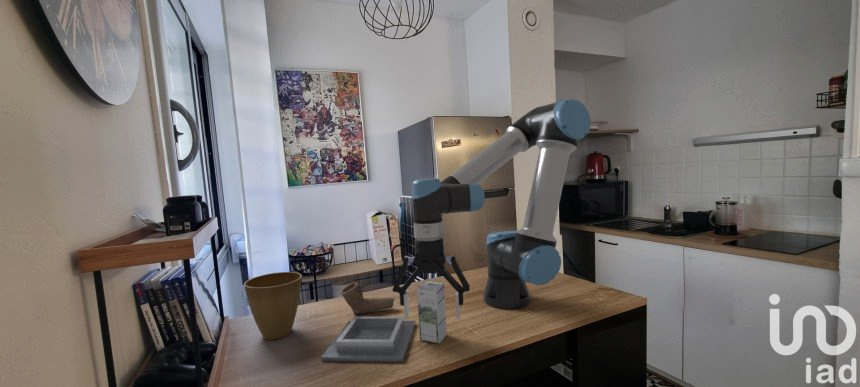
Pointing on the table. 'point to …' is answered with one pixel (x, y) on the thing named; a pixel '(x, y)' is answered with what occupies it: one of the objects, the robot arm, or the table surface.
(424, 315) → the syrup box
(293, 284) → the plant pot
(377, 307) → the pipe
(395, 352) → the duct plate
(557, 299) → the table surface
